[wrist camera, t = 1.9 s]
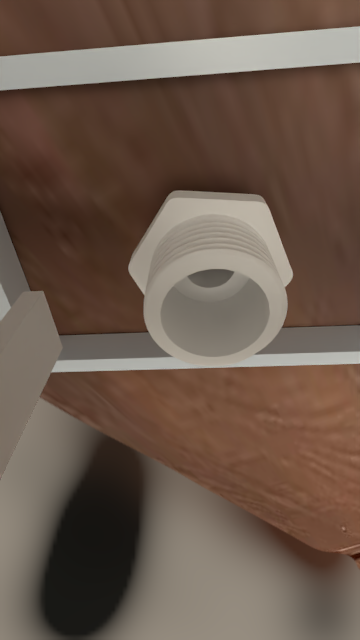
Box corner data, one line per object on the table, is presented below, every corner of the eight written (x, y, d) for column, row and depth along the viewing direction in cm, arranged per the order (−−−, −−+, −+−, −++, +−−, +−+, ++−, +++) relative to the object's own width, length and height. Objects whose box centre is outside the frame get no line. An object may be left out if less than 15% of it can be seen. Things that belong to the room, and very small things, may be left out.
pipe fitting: (124, 251, 20) (93, 342, 13) (195, 132, 16) (197, 180, 10) (215, 301, 22) (225, 403, 15) (296, 206, 18) (354, 287, 12)
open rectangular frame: (-79, 65, 15) (-121, 66, 13) (513, 16, 13) (570, 8, 11) (38, 347, 24) (24, 372, 22) (389, 335, 23) (408, 362, 21)
